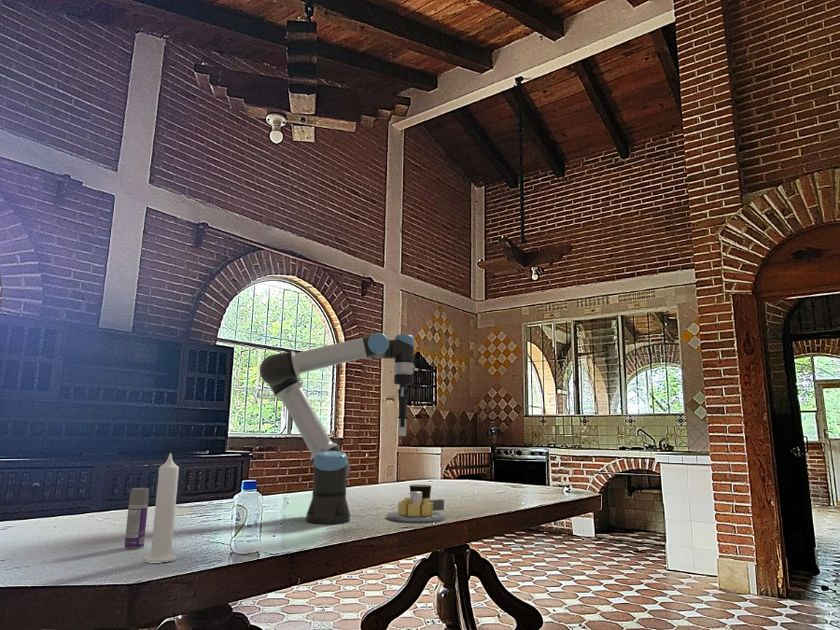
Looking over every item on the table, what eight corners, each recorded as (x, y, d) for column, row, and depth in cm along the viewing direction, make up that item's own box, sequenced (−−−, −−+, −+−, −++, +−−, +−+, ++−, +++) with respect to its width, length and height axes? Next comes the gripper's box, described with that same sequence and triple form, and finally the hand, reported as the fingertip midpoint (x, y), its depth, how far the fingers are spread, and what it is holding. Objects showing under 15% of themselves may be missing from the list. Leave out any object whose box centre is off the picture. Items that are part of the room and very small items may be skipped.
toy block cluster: (412, 517, 207) (413, 501, 208) (392, 513, 216) (392, 498, 217) (452, 513, 218) (452, 498, 219) (431, 509, 228) (431, 495, 229)
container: (138, 545, 159) (144, 487, 162) (147, 547, 156) (152, 488, 159) (120, 547, 155) (127, 488, 158) (129, 550, 152) (135, 489, 155)
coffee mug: (428, 513, 227) (429, 486, 229) (407, 512, 229) (407, 486, 231) (434, 509, 238) (434, 484, 240) (413, 509, 240) (413, 483, 242)
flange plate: (384, 522, 205) (384, 494, 207) (389, 513, 226) (390, 488, 227) (444, 523, 204) (444, 495, 206) (444, 514, 225) (444, 489, 226)
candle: (180, 557, 145) (189, 453, 150) (169, 563, 138) (179, 454, 143) (151, 557, 145) (161, 452, 149) (139, 563, 138) (150, 453, 142)
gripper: (412, 372, 223) (411, 436, 219) (414, 375, 236) (413, 436, 232) (392, 372, 224) (390, 435, 219) (395, 375, 237) (394, 435, 232)
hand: (402, 435), depth 226 cm, fingers closed
